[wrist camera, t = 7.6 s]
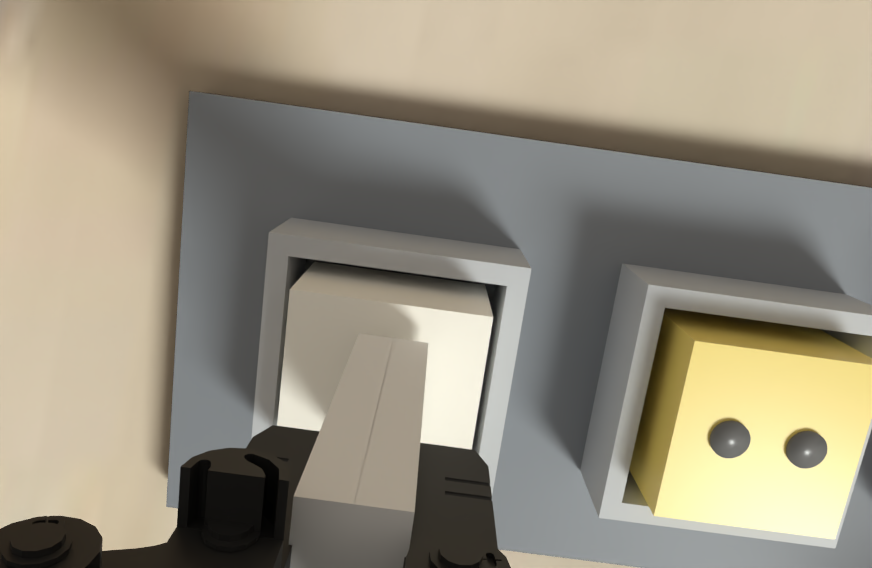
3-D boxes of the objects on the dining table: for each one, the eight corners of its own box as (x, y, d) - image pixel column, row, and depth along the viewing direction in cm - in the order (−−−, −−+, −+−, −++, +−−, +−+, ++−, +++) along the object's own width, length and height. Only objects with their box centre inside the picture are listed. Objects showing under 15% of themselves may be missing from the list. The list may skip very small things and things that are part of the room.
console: (178, 489, 22) (129, 558, 18) (202, 92, 19) (150, 86, 16) (1114, 609, 22) (1235, 697, 19) (1267, 243, 20) (1439, 269, 16)
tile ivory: (298, 420, 19) (271, 477, 16) (314, 261, 18) (288, 290, 15) (460, 441, 19) (463, 502, 16) (485, 284, 18) (493, 318, 15)
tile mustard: (622, 456, 20) (655, 518, 17) (655, 305, 19) (696, 342, 16) (776, 477, 20) (837, 542, 17) (817, 328, 19) (890, 368, 16)
